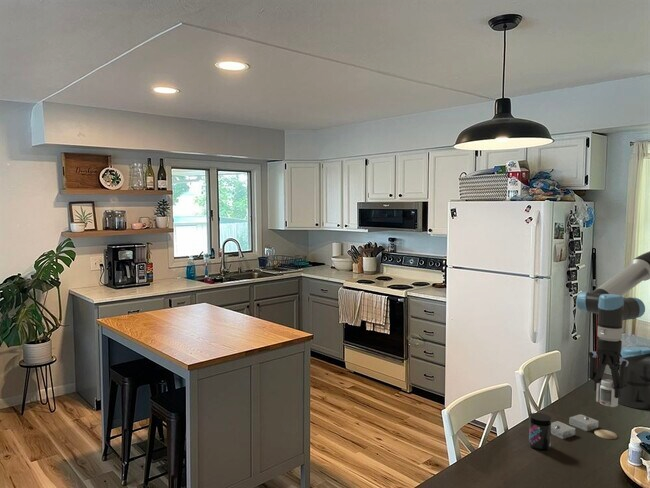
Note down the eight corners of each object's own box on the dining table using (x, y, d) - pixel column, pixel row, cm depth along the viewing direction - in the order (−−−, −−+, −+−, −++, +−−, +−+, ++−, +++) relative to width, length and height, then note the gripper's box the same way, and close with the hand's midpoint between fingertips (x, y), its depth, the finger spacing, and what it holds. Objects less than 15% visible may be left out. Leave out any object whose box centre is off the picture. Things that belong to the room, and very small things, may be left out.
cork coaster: (602, 429, 180) (602, 428, 180) (621, 436, 174) (621, 435, 174) (590, 433, 177) (590, 432, 177) (609, 441, 171) (609, 439, 171)
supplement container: (528, 440, 171) (529, 411, 170) (550, 444, 168) (551, 414, 168) (528, 449, 164) (529, 418, 164) (550, 453, 162) (552, 422, 161)
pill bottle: (617, 407, 172) (617, 383, 172) (602, 406, 173) (603, 382, 172) (611, 402, 177) (612, 379, 176) (597, 401, 178) (598, 378, 177)
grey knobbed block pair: (580, 420, 188) (580, 413, 187) (598, 427, 181) (598, 420, 181) (545, 431, 178) (545, 423, 178) (562, 439, 172) (563, 431, 172)
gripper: (579, 334, 179) (576, 397, 181) (628, 345, 164) (625, 414, 165) (591, 332, 183) (589, 393, 184) (641, 343, 167) (638, 410, 169)
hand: (606, 403), depth 175 cm, fingers closed on pill bottle, 5 cm apart
